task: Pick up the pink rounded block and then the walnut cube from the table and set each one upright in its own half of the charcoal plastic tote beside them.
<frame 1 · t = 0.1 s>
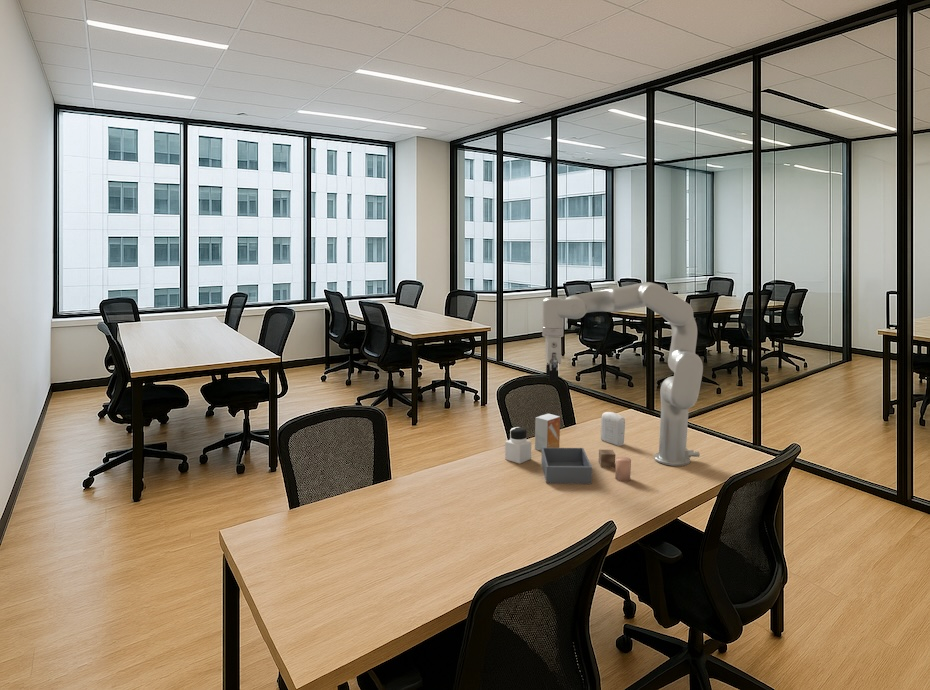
hand: (552, 378, 221), 31 cm above the table, tool pointing down, fingers open, 9 cm apart
tote: (565, 472, 214), on the table
small box: (547, 449, 239), on the table
pink rounded block: (622, 478, 208), on the table
medicine bottle: (518, 459, 227), on the table
walnut cube: (606, 465, 221), on the table
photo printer: (612, 442, 245), on the table
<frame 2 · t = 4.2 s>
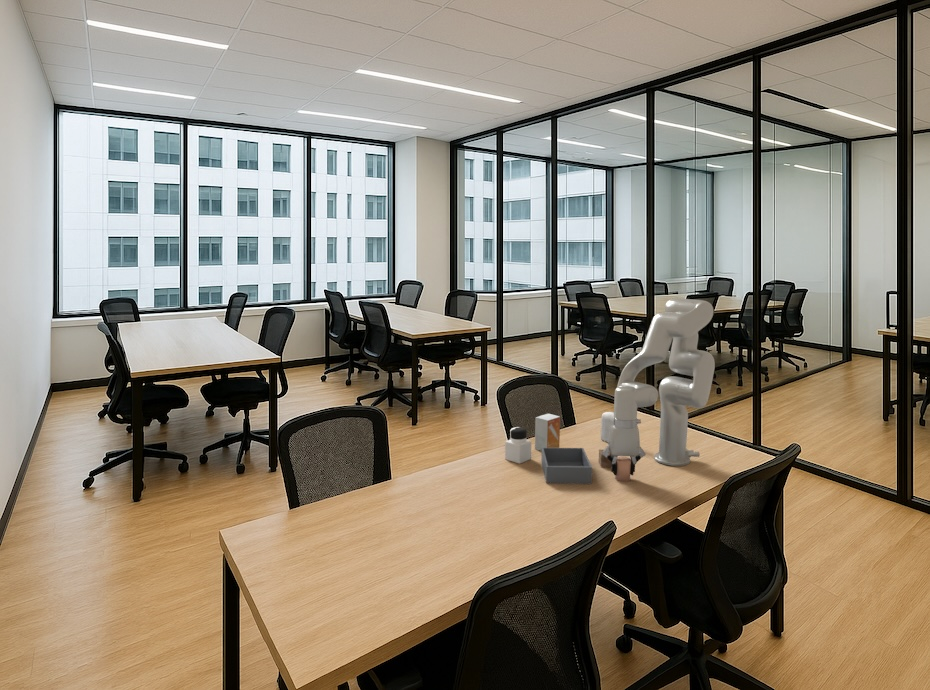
hand: (622, 473, 208), 2 cm above the table, tool pointing down, fingers closed on pink rounded block, 4 cm apart
pink rounded block: (622, 478, 208), on the table, touching gripper
everything else where it was.
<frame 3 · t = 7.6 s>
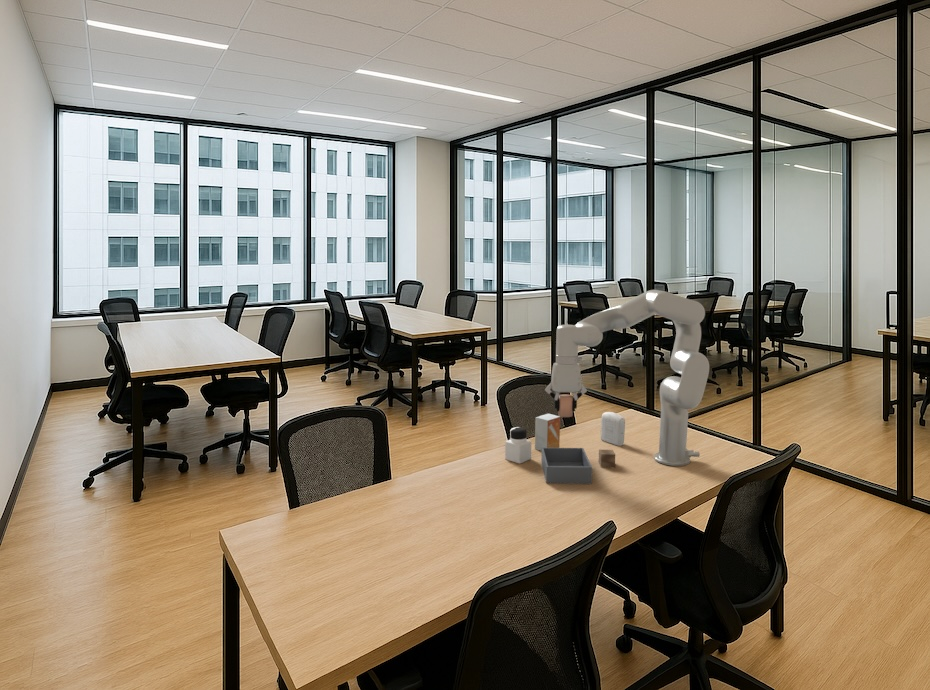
hand: (565, 409, 215), 22 cm above the table, tool pointing down, fingers closed on pink rounded block, 4 cm apart
pink rounded block: (565, 415, 215), point 20 cm above the table, touching gripper
everything else where it was.
when the fingers open (4 cm above the table, at t = 11.3 s): pink rounded block drops 1 cm, resting on tote.
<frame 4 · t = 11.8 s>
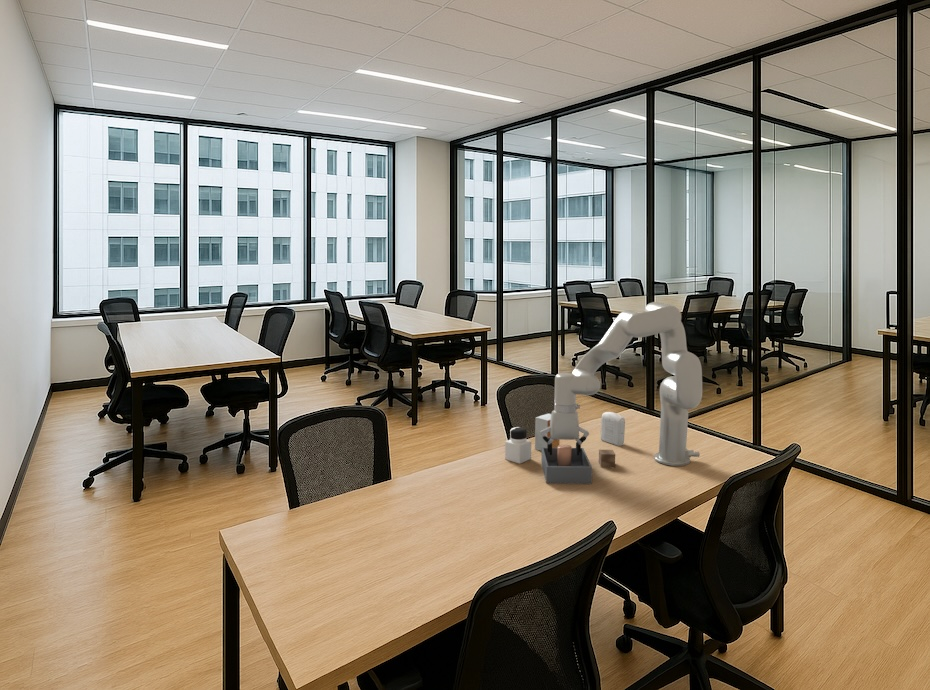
hand: (563, 453, 218), 5 cm above the table, tool pointing down, fingers open, 9 cm apart
pink rounded block: (564, 465, 218), point 1 cm above the table, touching tote
everything else where it was.
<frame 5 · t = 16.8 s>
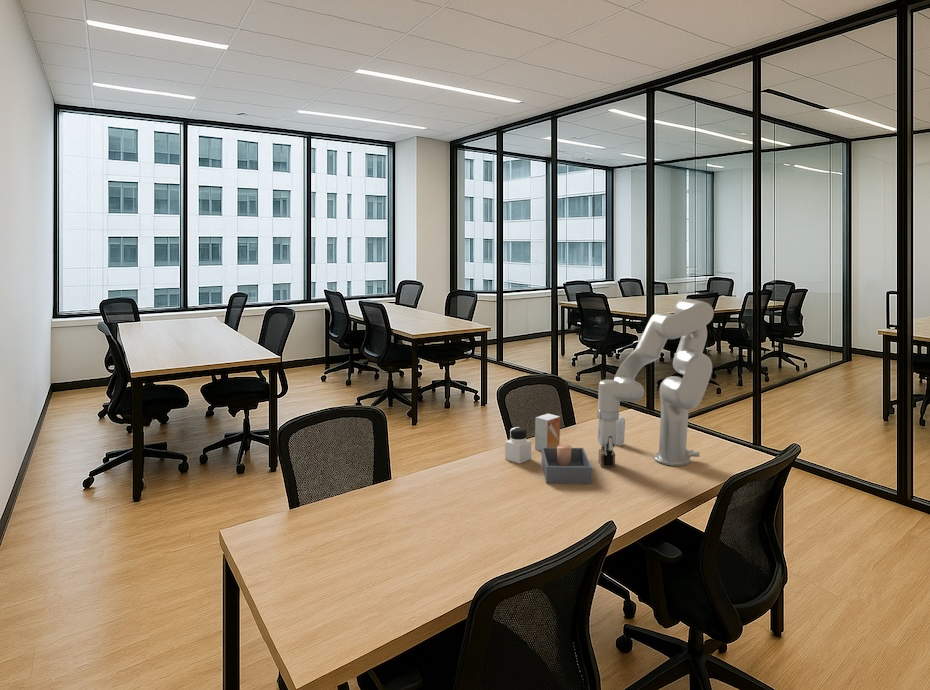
hand: (606, 461, 221), 1 cm above the table, tool pointing down, fingers closed on walnut cube, 5 cm apart
walnut cube: (606, 464, 221), on the table, touching gripper
everything else where it was.
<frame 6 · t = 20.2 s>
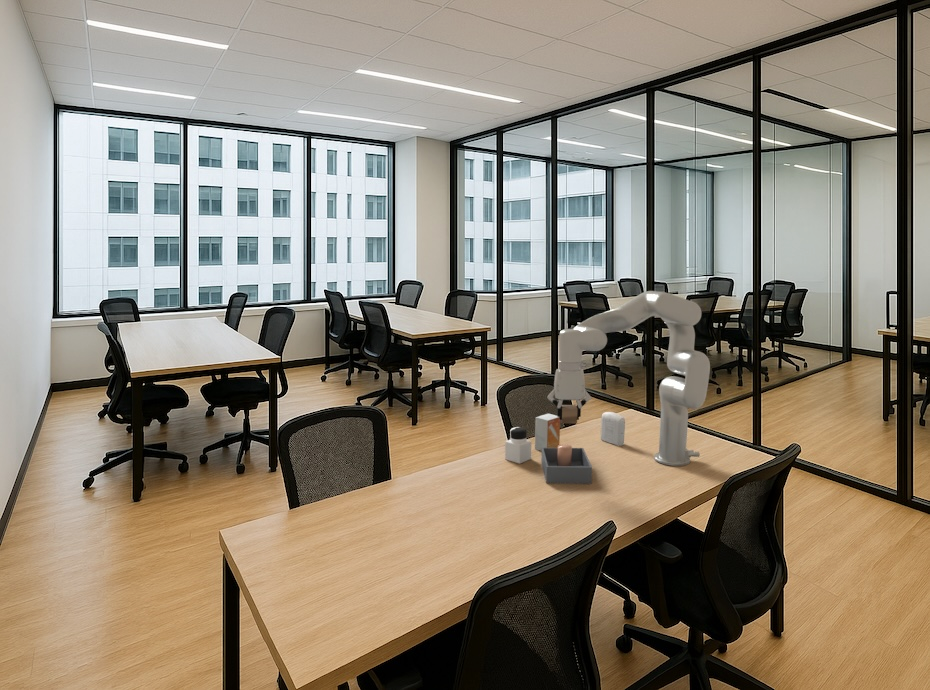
hand: (568, 418, 205), 21 cm above the table, tool pointing down, fingers closed on walnut cube, 5 cm apart
walnut cube: (568, 421, 205), point 20 cm above the table, touching gripper
everything else where it was.
when the fingers open (4 cm above the table, at t = 23.9 s): walnut cube drops 2 cm, resting on tote.
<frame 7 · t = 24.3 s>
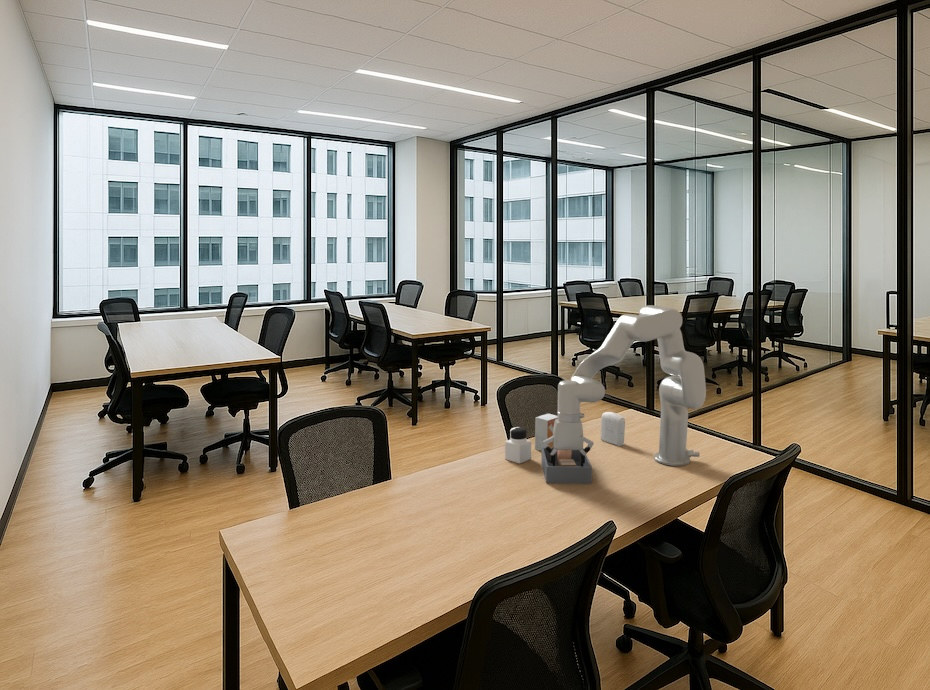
hand: (567, 465, 208), 5 cm above the table, tool pointing down, fingers open, 9 cm apart
walnut cube: (567, 475, 209), point 1 cm above the table, touching tote
everything else where it was.
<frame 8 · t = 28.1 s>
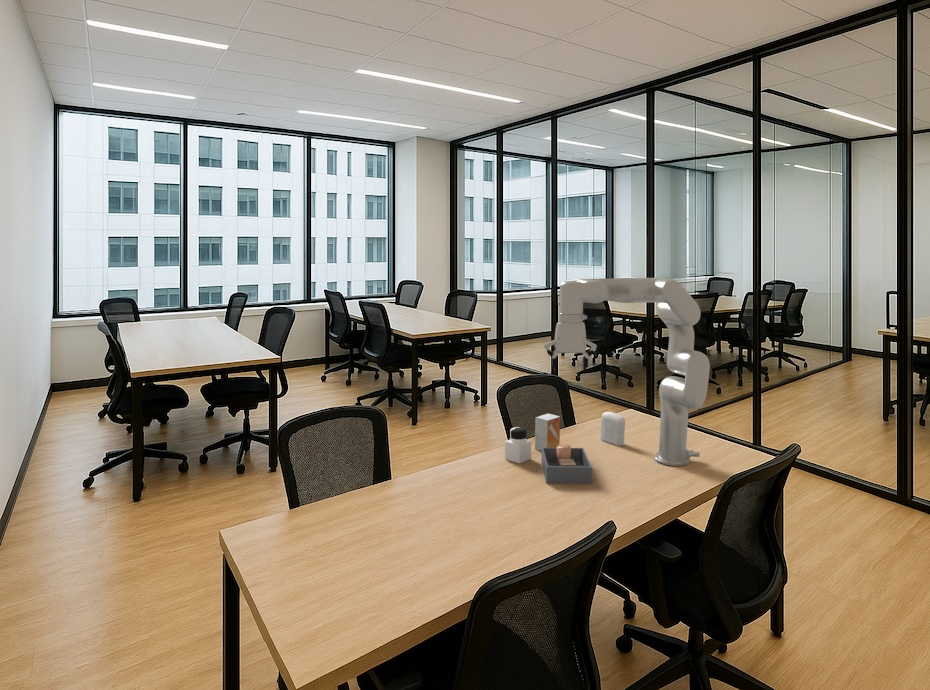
hand: (569, 369, 202), 38 cm above the table, tool pointing down, fingers open, 9 cm apart
nothing on the table moved.
at the end: pink rounded block inside the target area on the tote (4.9 cm from its centre), point 0.9 cm above the tote's base; walnut cube inside the target area on the tote (4.9 cm from its centre), point 0.8 cm above the tote's base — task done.
